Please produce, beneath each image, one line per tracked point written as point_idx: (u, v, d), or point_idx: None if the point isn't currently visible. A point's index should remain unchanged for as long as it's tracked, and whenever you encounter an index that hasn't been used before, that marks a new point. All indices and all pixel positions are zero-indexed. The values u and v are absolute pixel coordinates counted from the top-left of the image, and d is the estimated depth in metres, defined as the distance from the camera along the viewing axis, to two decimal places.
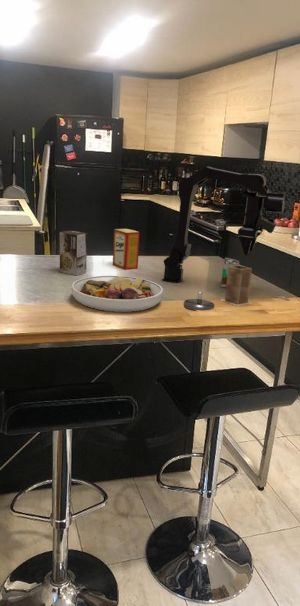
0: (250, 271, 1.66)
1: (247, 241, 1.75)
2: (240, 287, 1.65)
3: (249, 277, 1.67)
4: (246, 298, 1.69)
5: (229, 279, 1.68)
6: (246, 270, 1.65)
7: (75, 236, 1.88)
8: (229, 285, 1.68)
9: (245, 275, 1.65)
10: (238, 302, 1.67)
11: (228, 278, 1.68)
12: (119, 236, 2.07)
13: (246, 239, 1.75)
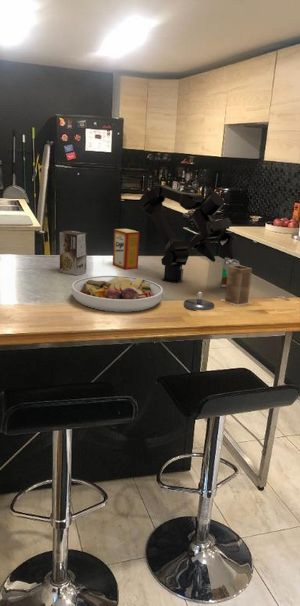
0: (250, 271, 1.66)
1: (205, 249, 1.71)
2: (240, 287, 1.65)
3: (249, 277, 1.67)
4: (246, 298, 1.69)
5: (229, 279, 1.68)
6: (246, 270, 1.65)
7: (75, 236, 1.88)
8: (229, 285, 1.68)
9: (245, 275, 1.65)
10: (238, 302, 1.67)
11: (228, 278, 1.68)
12: (119, 236, 2.07)
13: (204, 248, 1.71)
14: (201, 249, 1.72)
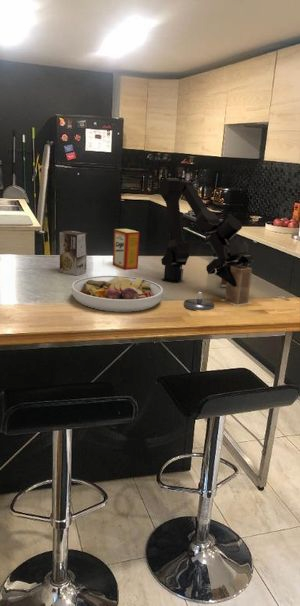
0: (250, 271, 1.66)
1: (226, 273, 1.67)
2: (240, 287, 1.65)
3: (249, 277, 1.67)
4: (246, 298, 1.69)
5: None
6: (246, 270, 1.65)
7: (75, 236, 1.88)
8: (229, 285, 1.68)
9: (245, 275, 1.65)
10: (238, 302, 1.67)
11: None
12: (119, 236, 2.07)
13: (225, 272, 1.67)
14: (222, 274, 1.68)
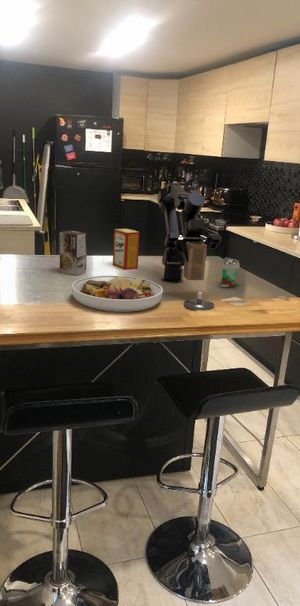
0: (204, 248, 1.64)
1: (182, 248, 1.67)
2: (191, 263, 1.64)
3: (203, 254, 1.64)
4: (200, 275, 1.66)
5: None
6: (198, 246, 1.63)
7: (75, 236, 1.88)
8: None
9: (197, 251, 1.64)
10: (189, 278, 1.66)
11: None
12: (119, 236, 2.07)
13: (181, 247, 1.68)
14: (179, 248, 1.69)
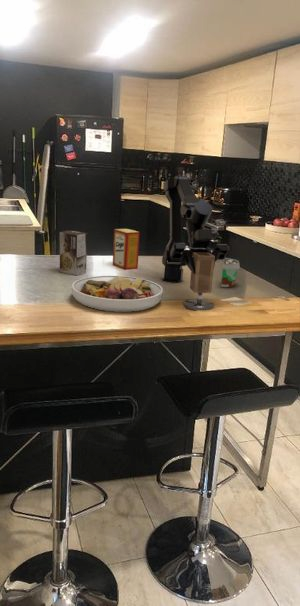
0: (212, 259, 1.56)
1: (188, 259, 1.60)
2: (198, 274, 1.57)
3: (210, 266, 1.57)
4: (208, 288, 1.59)
5: None
6: (206, 257, 1.55)
7: (75, 236, 1.88)
8: None
9: (205, 262, 1.56)
10: (196, 290, 1.58)
11: None
12: (119, 236, 2.07)
13: (188, 258, 1.60)
14: (185, 259, 1.61)
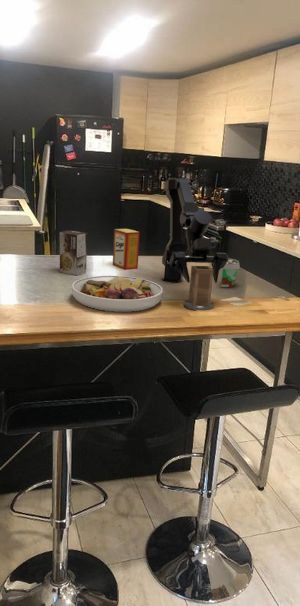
0: (211, 273, 1.57)
1: (183, 268, 1.60)
2: (197, 288, 1.58)
3: (209, 279, 1.58)
4: (206, 301, 1.60)
5: (191, 279, 1.61)
6: (204, 271, 1.57)
7: (75, 236, 1.88)
8: (191, 285, 1.62)
9: (203, 276, 1.57)
10: (195, 304, 1.59)
11: (191, 278, 1.62)
12: (119, 236, 2.07)
13: (182, 267, 1.61)
14: (180, 268, 1.62)
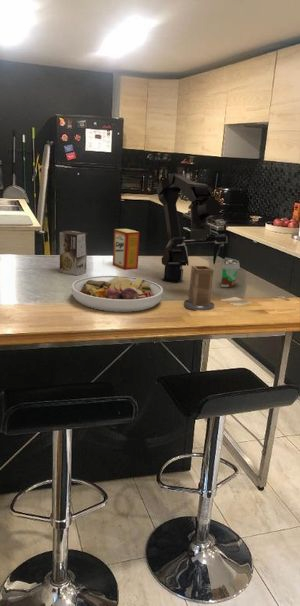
0: (211, 273, 1.57)
1: None
2: (197, 288, 1.58)
3: (209, 279, 1.58)
4: (206, 301, 1.60)
5: (191, 279, 1.61)
6: (204, 271, 1.57)
7: (75, 236, 1.88)
8: (191, 285, 1.62)
9: (203, 276, 1.57)
10: (195, 304, 1.59)
11: (191, 278, 1.62)
12: (119, 236, 2.07)
13: None
14: None
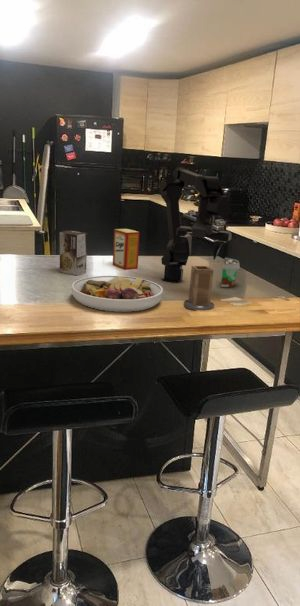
0: (211, 273, 1.57)
1: None
2: (197, 288, 1.58)
3: (209, 279, 1.58)
4: (206, 301, 1.60)
5: (191, 279, 1.61)
6: (204, 271, 1.57)
7: (75, 236, 1.88)
8: (191, 285, 1.62)
9: (203, 276, 1.57)
10: (195, 304, 1.59)
11: (191, 278, 1.62)
12: (119, 236, 2.07)
13: None
14: None
